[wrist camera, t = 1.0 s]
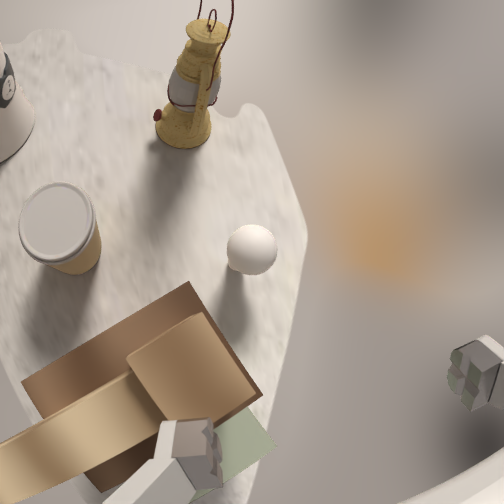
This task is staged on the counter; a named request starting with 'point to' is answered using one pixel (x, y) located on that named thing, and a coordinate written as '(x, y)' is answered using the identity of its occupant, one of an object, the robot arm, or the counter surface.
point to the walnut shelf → (113, 365)
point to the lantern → (194, 85)
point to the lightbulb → (251, 250)
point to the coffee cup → (61, 228)
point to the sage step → (240, 445)
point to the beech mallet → (126, 409)
